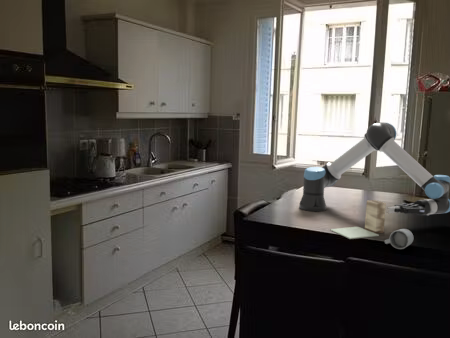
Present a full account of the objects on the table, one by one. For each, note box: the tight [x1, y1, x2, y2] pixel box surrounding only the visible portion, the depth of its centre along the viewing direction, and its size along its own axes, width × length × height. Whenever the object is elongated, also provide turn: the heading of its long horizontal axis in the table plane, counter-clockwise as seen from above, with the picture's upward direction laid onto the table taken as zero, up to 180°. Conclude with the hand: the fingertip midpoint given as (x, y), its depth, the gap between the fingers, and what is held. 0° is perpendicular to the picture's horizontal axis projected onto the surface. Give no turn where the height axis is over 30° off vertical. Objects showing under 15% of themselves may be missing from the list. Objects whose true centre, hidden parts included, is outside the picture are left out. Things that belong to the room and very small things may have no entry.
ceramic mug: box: [384, 228, 415, 250], centre depth 167 cm, size 11×8×8 cm
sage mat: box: [330, 226, 380, 240], centre depth 185 cm, size 16×14×1 cm
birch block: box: [364, 199, 387, 234], centre depth 188 cm, size 5×7×14 cm
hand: (387, 210), depth 191 cm, fingers closed
